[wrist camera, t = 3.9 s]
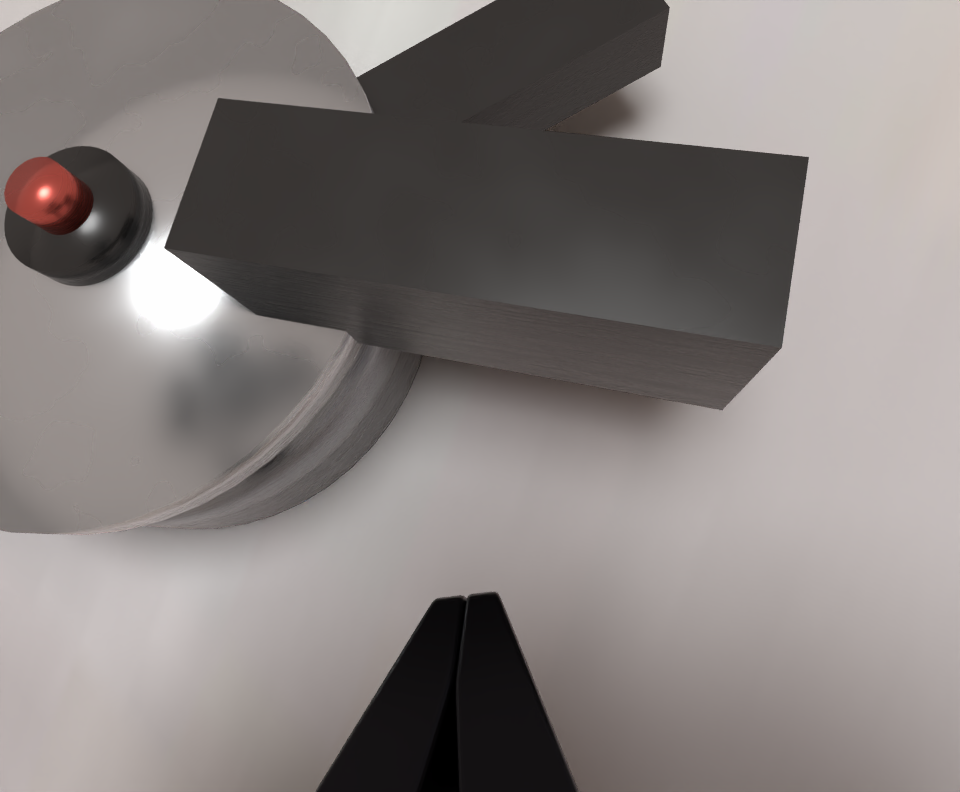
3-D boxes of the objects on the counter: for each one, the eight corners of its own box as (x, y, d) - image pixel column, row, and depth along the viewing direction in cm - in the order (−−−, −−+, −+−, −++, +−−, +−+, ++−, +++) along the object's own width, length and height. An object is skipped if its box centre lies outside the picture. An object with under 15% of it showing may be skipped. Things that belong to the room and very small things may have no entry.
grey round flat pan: (2, 662, 19) (-169, 694, 15) (-85, 291, 23) (-238, 232, 19) (752, 263, 18) (803, 173, 14) (528, -50, 22) (514, -195, 18)
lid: (-213, 461, 16) (-476, 432, 12) (1, -7, 19) (-155, -156, 15) (671, 714, 12) (716, 800, 8) (778, 45, 14) (852, -150, 10)
